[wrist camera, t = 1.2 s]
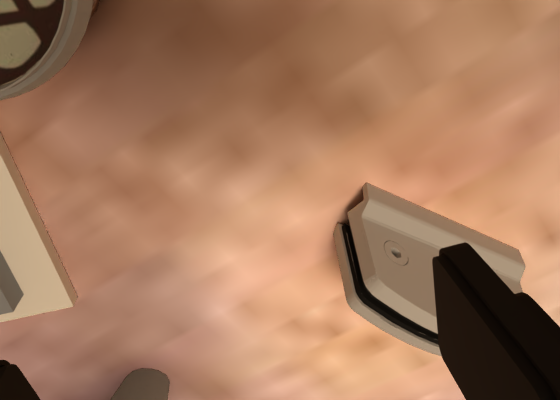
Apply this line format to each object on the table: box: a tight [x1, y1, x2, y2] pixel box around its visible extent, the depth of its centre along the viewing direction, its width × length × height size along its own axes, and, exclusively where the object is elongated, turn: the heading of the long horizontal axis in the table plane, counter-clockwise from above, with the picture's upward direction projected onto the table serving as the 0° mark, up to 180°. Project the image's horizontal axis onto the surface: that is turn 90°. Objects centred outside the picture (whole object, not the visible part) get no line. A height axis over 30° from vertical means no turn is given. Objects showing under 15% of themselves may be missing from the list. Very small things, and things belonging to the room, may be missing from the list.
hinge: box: [333, 183, 525, 356], centre depth 36 cm, size 17×5×10 cm, turn 63°
